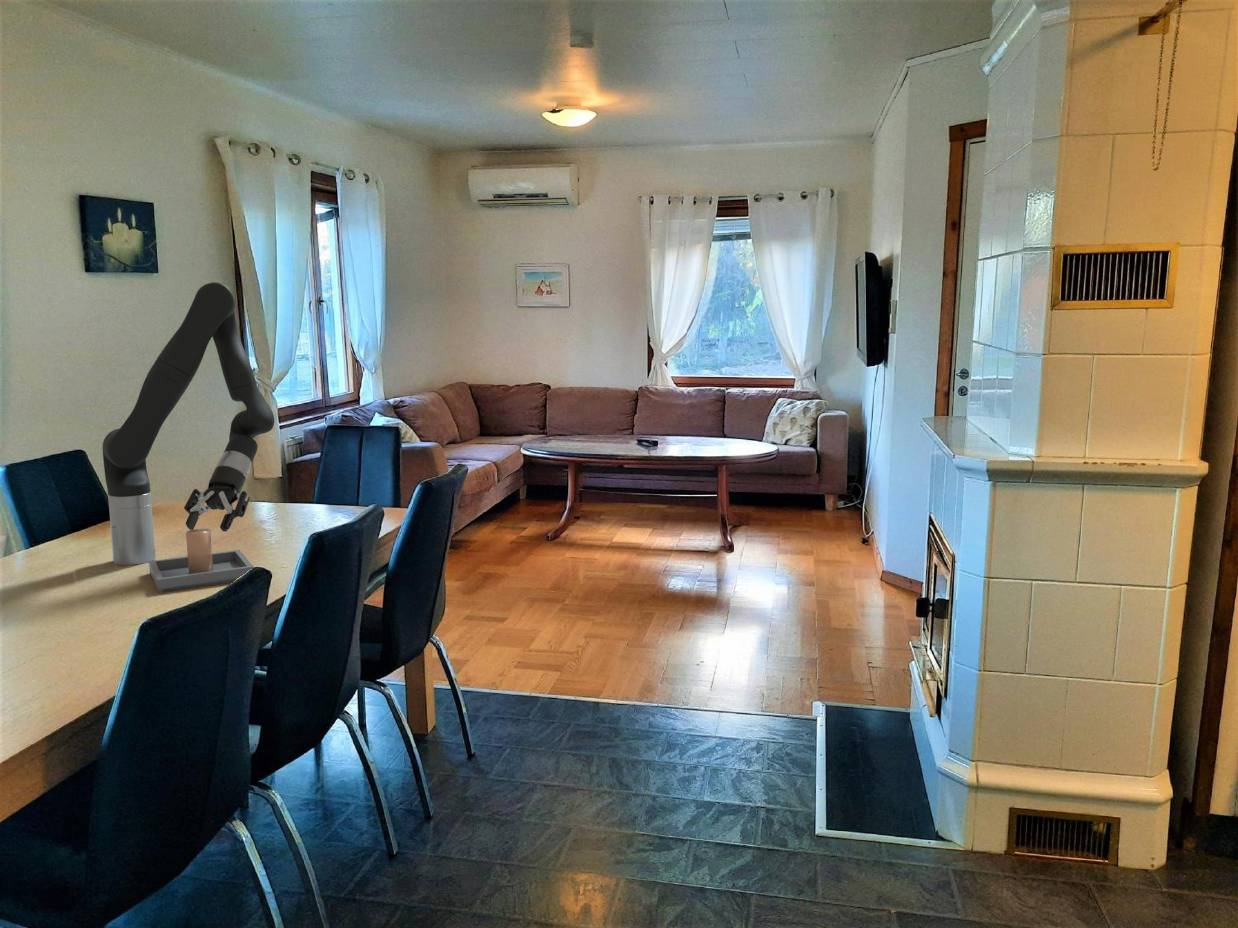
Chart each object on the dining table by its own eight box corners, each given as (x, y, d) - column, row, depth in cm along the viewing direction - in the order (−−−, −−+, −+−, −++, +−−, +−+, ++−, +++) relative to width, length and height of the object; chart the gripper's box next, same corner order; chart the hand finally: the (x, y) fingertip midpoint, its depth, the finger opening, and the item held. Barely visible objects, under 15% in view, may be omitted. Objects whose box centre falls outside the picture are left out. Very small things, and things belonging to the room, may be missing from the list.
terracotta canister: (185, 575, 203) (182, 534, 202) (194, 569, 208) (191, 528, 207) (207, 575, 203) (205, 534, 202) (216, 569, 209) (214, 528, 207)
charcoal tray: (158, 592, 193) (157, 579, 193) (150, 573, 208) (149, 561, 208) (254, 579, 204) (253, 566, 203) (240, 561, 219) (239, 549, 218)
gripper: (197, 463, 215) (170, 519, 205) (251, 465, 213) (227, 521, 204) (210, 481, 221) (185, 535, 211) (264, 483, 219) (241, 538, 210)
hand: (206, 528), depth 207 cm, fingers open, 8 cm apart
